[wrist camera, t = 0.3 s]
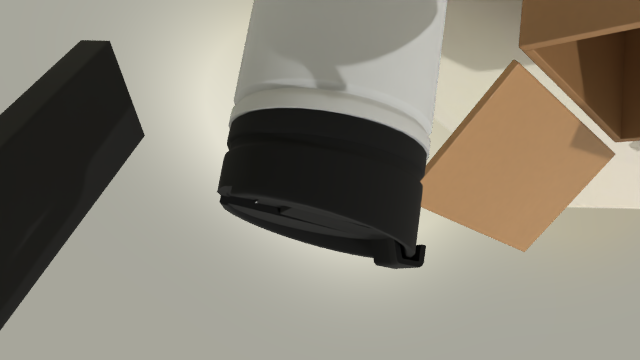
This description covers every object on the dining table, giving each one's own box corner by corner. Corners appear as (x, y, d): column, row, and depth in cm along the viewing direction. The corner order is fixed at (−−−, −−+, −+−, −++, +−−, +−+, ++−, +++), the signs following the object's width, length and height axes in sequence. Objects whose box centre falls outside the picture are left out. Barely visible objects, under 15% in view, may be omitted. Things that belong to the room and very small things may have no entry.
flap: (615, 154, 37) (610, 150, 37) (519, 62, 27) (513, 58, 27) (524, 252, 39) (520, 248, 39) (405, 200, 29) (400, 195, 29)
